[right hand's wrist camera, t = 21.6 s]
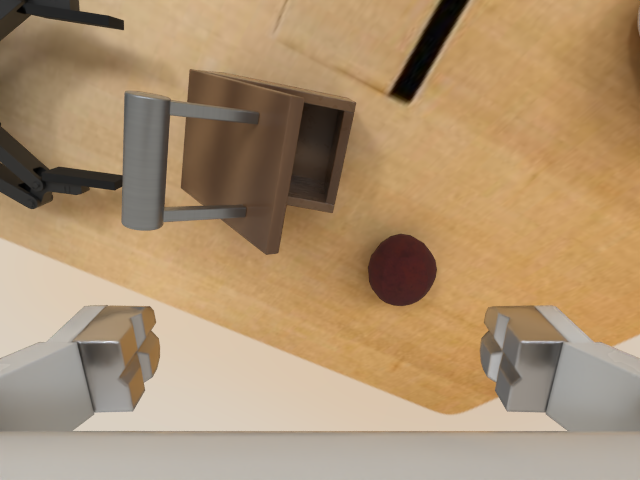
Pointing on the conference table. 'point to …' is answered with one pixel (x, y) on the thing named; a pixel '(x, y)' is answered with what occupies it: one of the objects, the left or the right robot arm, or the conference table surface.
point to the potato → (401, 270)
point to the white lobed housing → (639, 20)
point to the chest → (315, 144)
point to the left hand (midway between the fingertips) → (119, 108)
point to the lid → (213, 156)
